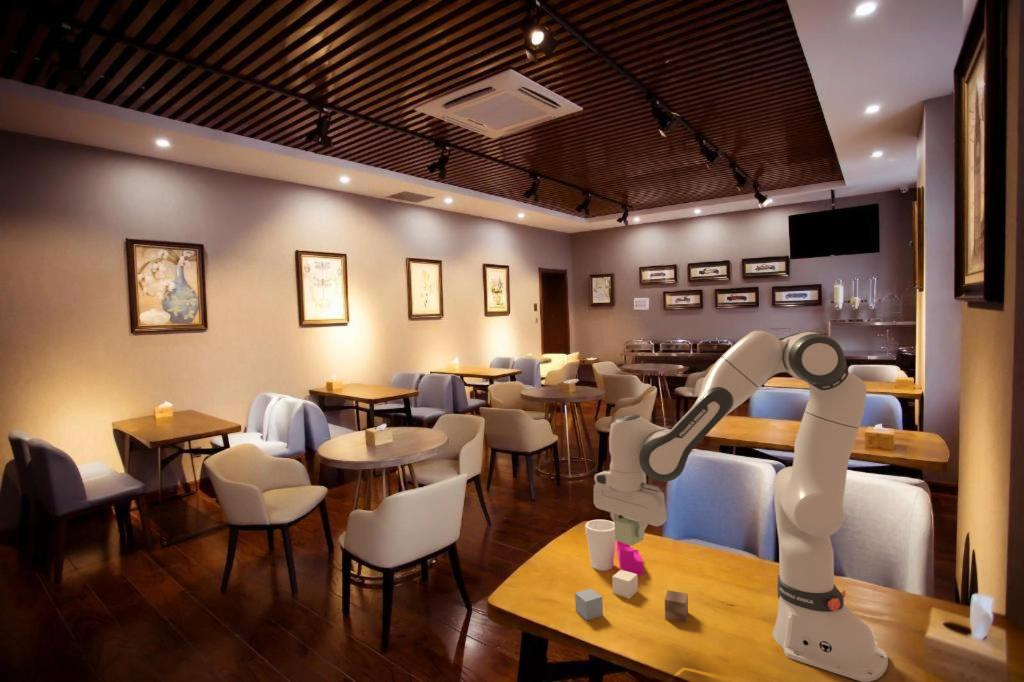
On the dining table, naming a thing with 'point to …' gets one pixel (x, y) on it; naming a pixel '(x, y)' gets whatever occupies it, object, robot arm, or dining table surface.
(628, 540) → the cube sage
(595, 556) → the foam cup
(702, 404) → the robot arm
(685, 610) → the cube walnut
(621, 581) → the cube offwhite
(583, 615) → the cube slate
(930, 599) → the dining table surface
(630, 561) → the toy block
